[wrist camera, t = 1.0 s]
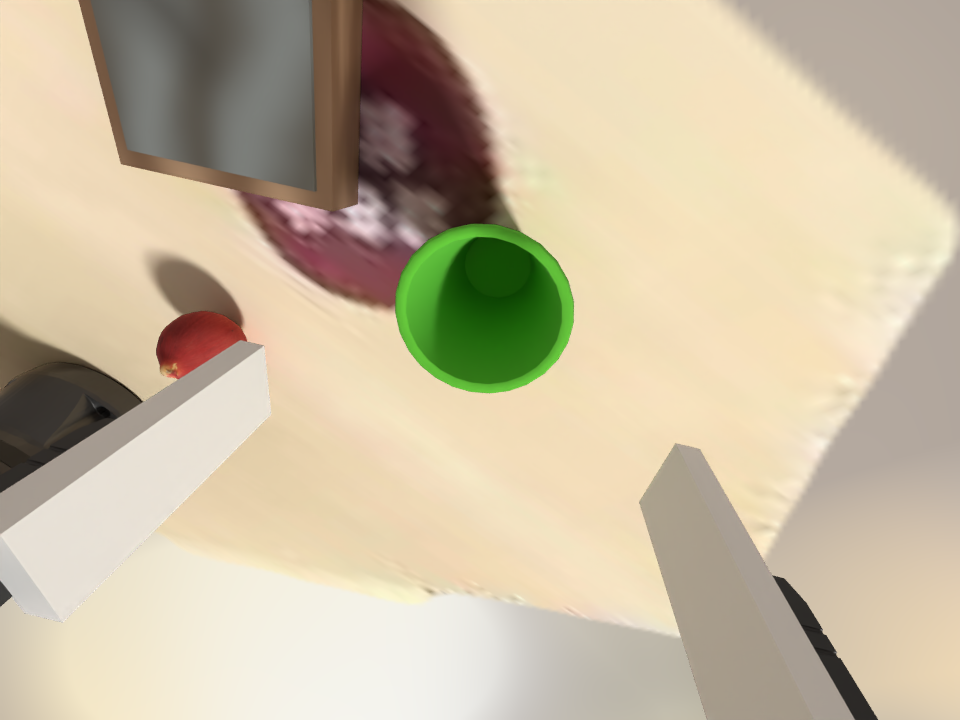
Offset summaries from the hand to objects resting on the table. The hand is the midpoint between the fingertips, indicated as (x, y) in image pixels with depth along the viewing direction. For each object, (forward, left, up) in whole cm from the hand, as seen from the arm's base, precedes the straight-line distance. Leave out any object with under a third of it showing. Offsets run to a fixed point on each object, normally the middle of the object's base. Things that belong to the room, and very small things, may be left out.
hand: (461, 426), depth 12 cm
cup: (0, 0, -19) cm, 19 cm away
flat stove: (-18, +9, -19) cm, 28 cm away
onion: (-22, -11, -19) cm, 31 cm away
